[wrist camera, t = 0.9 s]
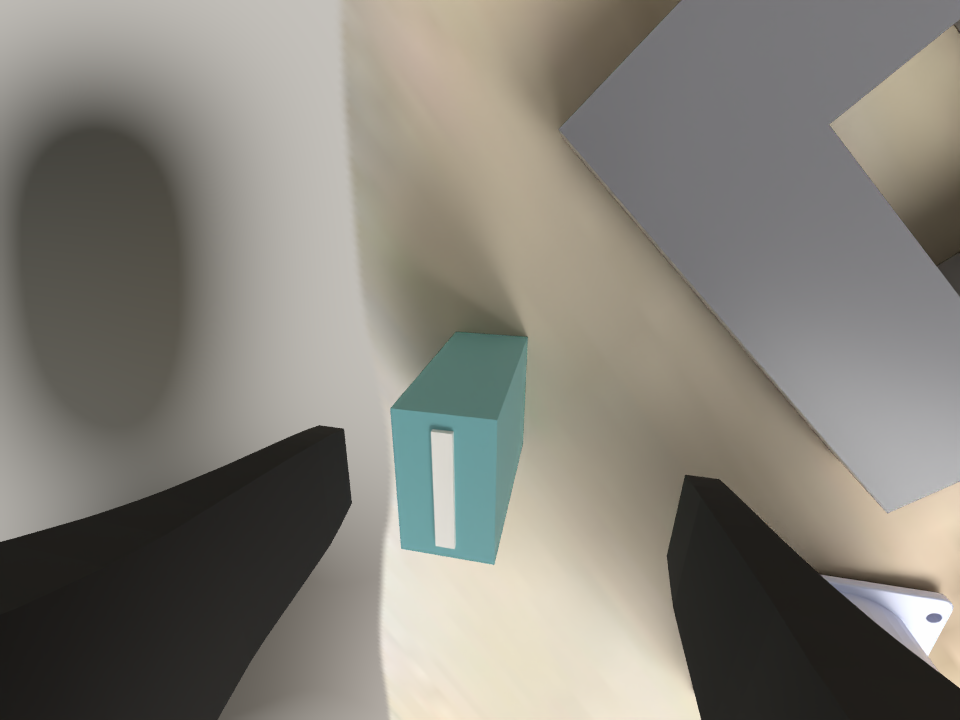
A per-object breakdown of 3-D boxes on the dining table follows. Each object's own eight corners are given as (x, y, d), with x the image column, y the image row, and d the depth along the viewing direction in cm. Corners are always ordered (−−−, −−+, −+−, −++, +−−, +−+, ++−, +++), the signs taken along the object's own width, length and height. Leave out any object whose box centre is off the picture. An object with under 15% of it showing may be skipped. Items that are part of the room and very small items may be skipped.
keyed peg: (522, 443, 20) (493, 568, 14) (457, 435, 21) (399, 551, 14) (527, 336, 18) (496, 422, 12) (456, 331, 19) (388, 410, 12)
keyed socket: (1381, 187, 12) (1622, 189, 9) (839, 461, 17) (887, 513, 15) (1058, -375, 10) (1241, -590, 7) (563, 138, 15) (558, 129, 13)
